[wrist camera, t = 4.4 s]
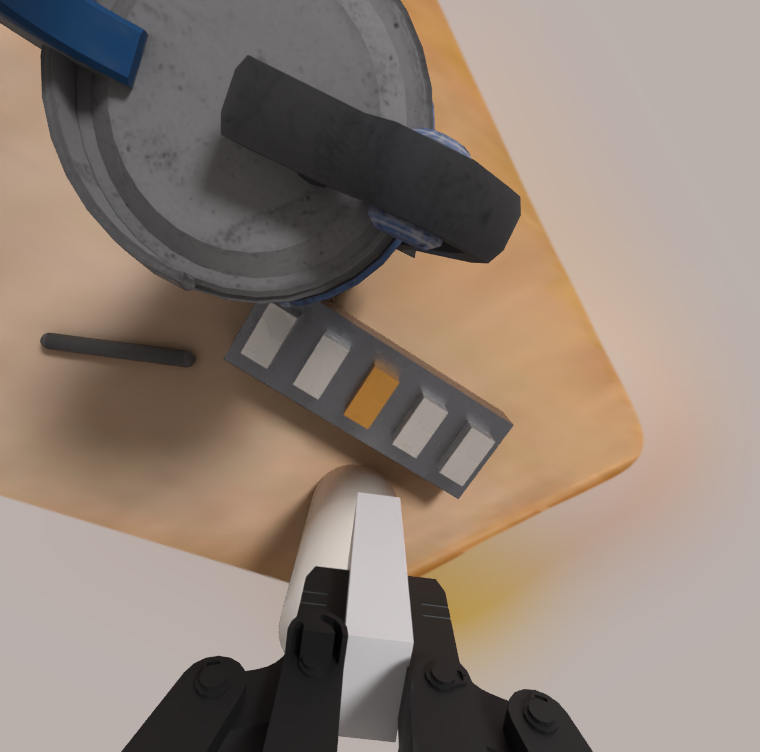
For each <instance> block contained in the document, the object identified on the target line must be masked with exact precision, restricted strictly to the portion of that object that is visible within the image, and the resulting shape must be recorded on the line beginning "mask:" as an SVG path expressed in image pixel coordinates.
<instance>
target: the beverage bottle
mask: <svg viewBox="0 0 760 752" xmlns="http://www.w3.org/2000/svg"><path fill="white" fill-rule="evenodd" d="M0 23H1V24H3V25H4V26H6V27H7V28H9V29H10V30H12V31H14V32H15V33H17V34H18V35H20V36H21V37H23V38H25V39H26V40H28V41H29V42H31V43H32V44H34V45H35V46H37V47H39V48H40V49H42V50H41V79H42V99H43V103H44V108H45V113H46V117H47V122H48V127H49V131H50V136H51V139H52V142H53V144H54V147H55V149H56V152H57V154H58V157H59V159H60V162H61V164H62V167H63V169H64V172H65V174H66V176H67V178H68V180H69V181H70V183H71V184H72V186H73V188H74V189H75V191H76V193H77V194H78V196H79V197H80V199H81V201H82V202H83V204H84V206H85V207H86V209H87V210H88V211H89V213H90V214H91V215H92V216H93V217H94V218H95V219H96V221H97V222H98V223H99V224H100V225H101V226H102V227H103V229H104V230H105V231H106V232H107V233H108V234H109V235H110V236H111V238H112V239H113V240H114V241H115V242H116V243H118V244H119V245H120V246H121V247H122V248H123V249H124V250H125V251H126V252H128V253H129V254H130V255H131V256H133V257H134V258H135V259H136V260H138V261H139V262H140V263H141V264H143V265H144V266H145V267H146V268H148V269H149V270H150V271H151V272H153V273H154V274H156V275H158V276H160V277H161V278H163V279H165V280H167V281H169V282H171V283H173V284H175V285H177V286H179V287H180V288H182V289H184V290H186V291H189V290H197V291H200V292H204V293H207V294H210V295H213V296H216V297H219V298H222V299H226V300H233V301H242V302H250V303H258V304H260V303H279V304H280V305H281V306H282V307H298V306H304V305H308V304H311V303H315V302H319V301H322V300H326V299H329V298H332V297H334V296H336V295H338V294H340V293H342V292H344V291H346V290H348V289H350V288H352V287H354V286H355V285H357V284H359V283H360V282H362V281H363V280H364V279H365V278H367V277H368V276H369V275H370V274H372V273H373V272H374V271H375V270H377V269H378V268H379V267H380V266H382V265H383V264H384V263H385V261H386V260H387V259H388V258H389V257H390V255H391V254H392V253H393V252H394V251H395V250H396V249H397V250H399V251H401V252H403V253H405V254H407V255H409V256H411V257H413V258H415V252H416V251H420V252H424V253H429V254H434V255H438V256H443V257H448V258H452V259H457V260H461V261H466V262H471V263H489V262H490V261H491V260H493V259H494V258H495V257H496V256H497V255H499V254H500V253H501V252H502V251H503V250H504V248H505V246H506V244H507V242H508V240H509V238H510V236H511V234H512V232H513V230H514V228H515V226H516V224H517V222H518V220H519V218H520V216H521V207H520V196H519V195H518V194H517V193H515V192H514V191H513V190H512V189H511V188H509V187H508V186H507V185H506V184H504V183H503V182H502V181H500V180H499V179H498V178H497V177H495V176H494V175H493V174H492V173H490V172H489V171H488V170H486V169H485V168H484V167H483V166H481V165H480V164H479V163H477V162H476V161H475V160H473V159H472V158H471V156H470V154H469V152H468V151H467V150H466V148H465V147H464V146H462V145H461V144H460V143H459V142H457V141H456V140H454V139H452V138H450V137H449V136H447V135H445V134H442V133H440V132H438V131H435V123H434V106H433V101H432V87H431V82H430V78H429V73H428V69H427V64H426V60H425V55H424V51H423V47H422V45H421V42H420V40H419V38H418V35H417V33H416V31H415V28H414V26H413V24H412V21H411V19H410V16H409V14H408V12H407V10H406V8H405V7H404V5H403V4H402V2H401V1H400V0H0Z"/></svg>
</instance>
